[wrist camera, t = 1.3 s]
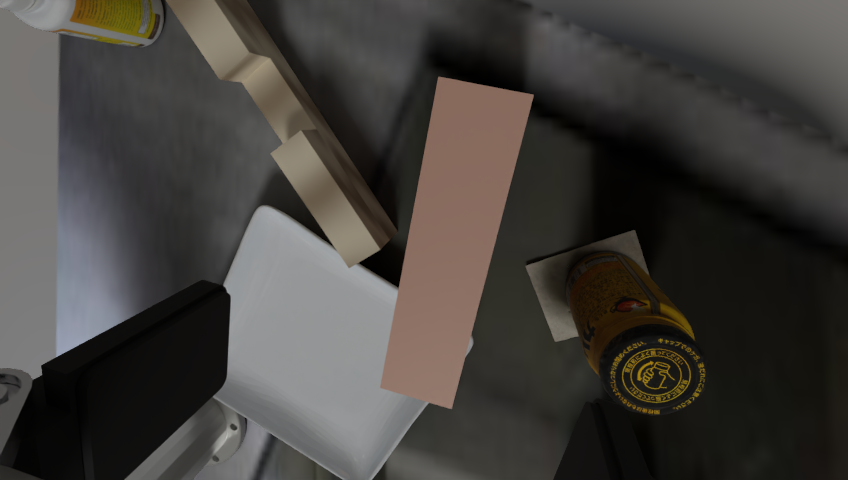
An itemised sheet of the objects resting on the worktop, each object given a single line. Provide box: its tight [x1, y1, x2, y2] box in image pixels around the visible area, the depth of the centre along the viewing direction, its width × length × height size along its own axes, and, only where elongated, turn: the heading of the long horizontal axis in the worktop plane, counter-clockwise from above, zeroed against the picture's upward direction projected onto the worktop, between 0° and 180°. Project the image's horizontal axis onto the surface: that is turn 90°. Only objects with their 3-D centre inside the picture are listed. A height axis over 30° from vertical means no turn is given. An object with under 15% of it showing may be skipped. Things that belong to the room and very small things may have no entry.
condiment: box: [526, 230, 708, 416], centre depth 27 cm, size 7×8×12 cm
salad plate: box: [213, 205, 473, 480], centre depth 38 cm, size 21×21×3 cm
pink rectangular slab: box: [380, 77, 534, 409], centre depth 26 cm, size 16×4×14 cm, turn 169°
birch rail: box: [166, 0, 398, 268], centre depth 31 cm, size 26×3×5 cm, turn 33°
